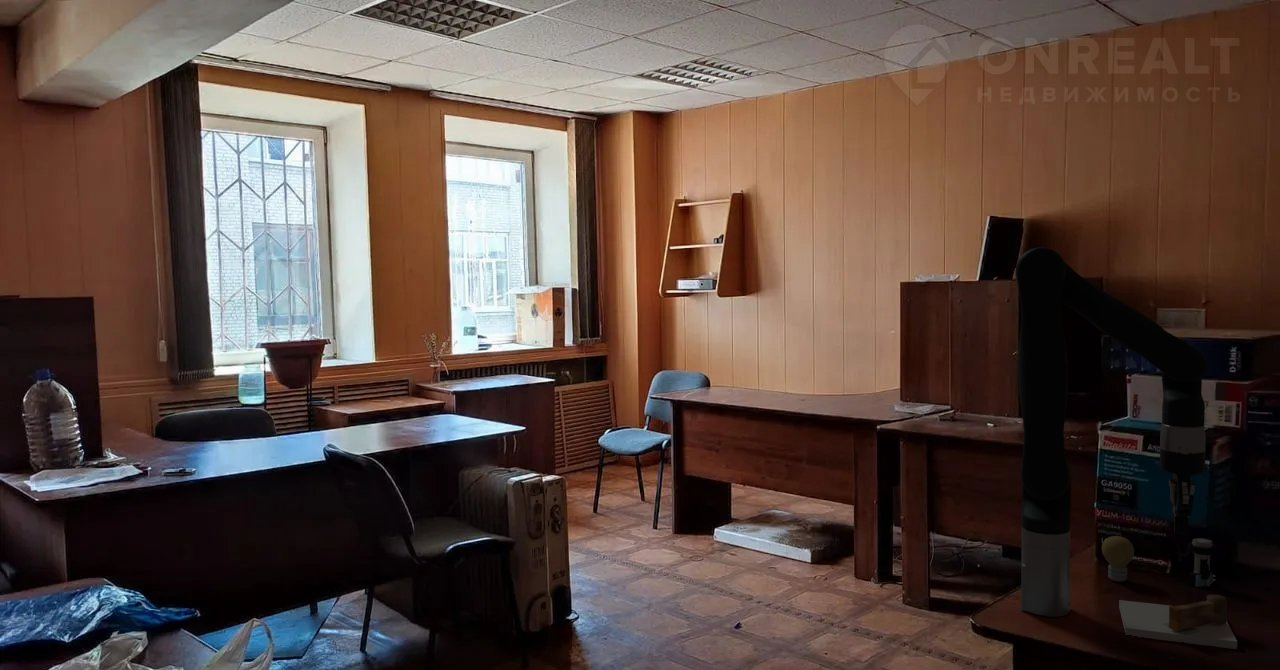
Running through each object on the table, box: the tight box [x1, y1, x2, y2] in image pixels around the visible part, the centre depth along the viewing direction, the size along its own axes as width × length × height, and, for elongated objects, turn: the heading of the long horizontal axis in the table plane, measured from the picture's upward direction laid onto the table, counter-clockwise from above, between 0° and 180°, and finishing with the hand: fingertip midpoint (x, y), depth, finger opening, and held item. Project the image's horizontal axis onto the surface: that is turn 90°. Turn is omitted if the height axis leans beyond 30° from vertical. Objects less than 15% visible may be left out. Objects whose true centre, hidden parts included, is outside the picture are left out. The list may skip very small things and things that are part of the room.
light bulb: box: [1101, 535, 1135, 583], centre depth 197 cm, size 6×6×10 cm
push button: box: [1187, 537, 1218, 588], centre depth 193 cm, size 7×5×10 cm
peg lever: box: [1169, 594, 1228, 631], centre depth 168 cm, size 12×3×5 cm, turn 107°
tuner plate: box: [1118, 599, 1238, 650], centre depth 172 cm, size 18×15×2 cm
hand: (1180, 534), depth 171 cm, fingers closed
